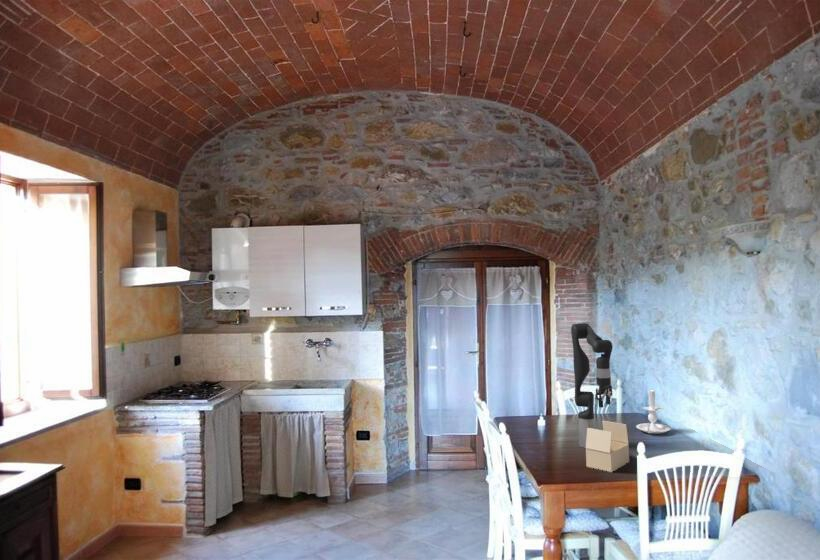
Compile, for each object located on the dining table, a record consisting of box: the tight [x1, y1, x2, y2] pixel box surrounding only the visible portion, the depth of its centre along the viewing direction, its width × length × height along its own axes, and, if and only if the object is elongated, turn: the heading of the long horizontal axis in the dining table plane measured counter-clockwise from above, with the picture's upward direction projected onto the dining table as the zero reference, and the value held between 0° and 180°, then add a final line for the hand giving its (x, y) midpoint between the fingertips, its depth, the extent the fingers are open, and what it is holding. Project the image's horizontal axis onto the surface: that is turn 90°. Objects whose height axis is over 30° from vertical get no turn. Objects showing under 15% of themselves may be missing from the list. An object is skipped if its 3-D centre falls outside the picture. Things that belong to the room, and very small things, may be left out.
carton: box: [585, 441, 630, 474], centre depth 287 cm, size 22×14×10 cm, turn 134°
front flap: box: [585, 428, 612, 453], centre depth 281 cm, size 11×14×1 cm
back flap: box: [602, 420, 630, 444], centre depth 295 cm, size 11×14×1 cm
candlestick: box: [635, 389, 671, 435], centre depth 343 cm, size 21×25×28 cm
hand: (604, 405), depth 288 cm, fingers open, 8 cm apart
